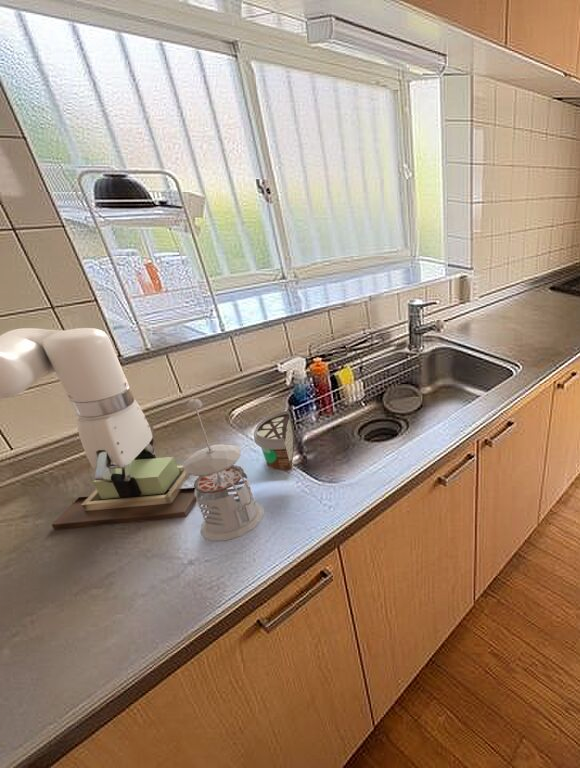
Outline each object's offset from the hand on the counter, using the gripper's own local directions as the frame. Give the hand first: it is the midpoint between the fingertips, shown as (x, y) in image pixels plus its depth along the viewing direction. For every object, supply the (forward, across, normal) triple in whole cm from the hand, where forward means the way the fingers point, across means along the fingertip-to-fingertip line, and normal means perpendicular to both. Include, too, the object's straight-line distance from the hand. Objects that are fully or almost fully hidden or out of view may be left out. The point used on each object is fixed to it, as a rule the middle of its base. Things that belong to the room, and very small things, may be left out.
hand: (141, 483), depth 79 cm
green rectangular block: (+1, 0, 0) cm, 1 cm away
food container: (+3, -6, +22) cm, 23 cm away
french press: (+3, +10, +19) cm, 22 cm away
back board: (+3, 0, 0) cm, 3 cm away
